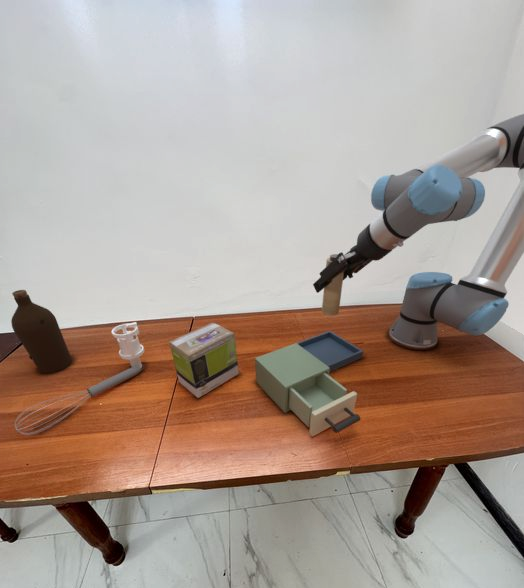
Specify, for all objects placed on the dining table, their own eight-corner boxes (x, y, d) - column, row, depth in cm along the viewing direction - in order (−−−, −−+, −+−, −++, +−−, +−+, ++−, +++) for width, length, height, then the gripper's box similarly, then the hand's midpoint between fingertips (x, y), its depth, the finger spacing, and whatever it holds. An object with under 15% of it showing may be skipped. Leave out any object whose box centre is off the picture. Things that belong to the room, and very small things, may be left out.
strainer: (150, 369, 92) (138, 327, 83) (127, 377, 89) (112, 334, 81) (145, 358, 97) (133, 317, 89) (123, 365, 94) (108, 323, 86)
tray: (329, 336, 106) (329, 330, 104) (362, 357, 94) (363, 351, 93) (289, 351, 98) (289, 345, 97) (320, 376, 87) (320, 369, 86)
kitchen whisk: (151, 372, 90) (146, 355, 87) (28, 446, 68) (14, 427, 65) (139, 365, 94) (134, 349, 90) (18, 434, 71) (4, 415, 68)
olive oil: (80, 354, 99) (49, 284, 86) (64, 374, 91) (26, 298, 77) (48, 356, 99) (12, 285, 86) (29, 375, 90) (-16, 300, 77)
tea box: (219, 361, 94) (213, 320, 86) (239, 375, 88) (236, 332, 80) (178, 383, 86) (167, 340, 78) (197, 400, 80) (188, 355, 72)
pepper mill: (330, 307, 87) (336, 252, 78) (342, 313, 84) (350, 256, 75) (318, 311, 85) (323, 255, 76) (329, 317, 82) (336, 259, 73)
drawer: (366, 425, 70) (371, 404, 66) (325, 449, 64) (328, 428, 61) (317, 384, 83) (319, 365, 79) (279, 401, 77) (279, 381, 73)
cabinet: (326, 392, 81) (330, 367, 76) (284, 413, 75) (285, 387, 70) (295, 366, 91) (296, 342, 87) (255, 382, 86) (254, 357, 81)
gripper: (359, 258, 58) (303, 305, 79) (416, 244, 66) (351, 290, 87) (344, 226, 59) (292, 281, 80) (401, 216, 67) (341, 268, 88)
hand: (323, 286), depth 84 cm, fingers closed on pepper mill, 5 cm apart
